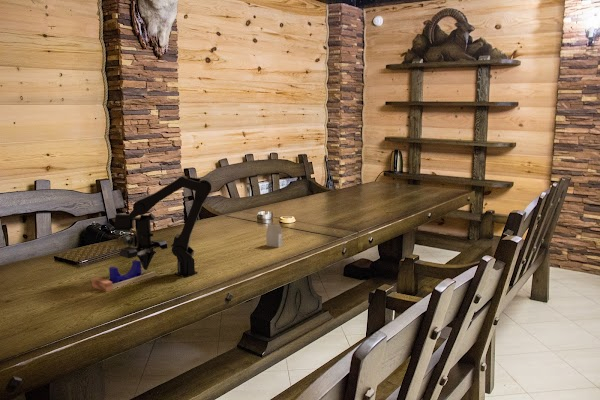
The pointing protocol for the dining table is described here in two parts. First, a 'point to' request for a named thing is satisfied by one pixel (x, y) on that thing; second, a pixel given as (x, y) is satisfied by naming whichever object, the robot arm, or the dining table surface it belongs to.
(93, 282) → the guide track
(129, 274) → the blue cradle block
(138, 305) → the dining table surface
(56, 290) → the dining table surface
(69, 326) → the dining table surface
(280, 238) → the grey upright block
